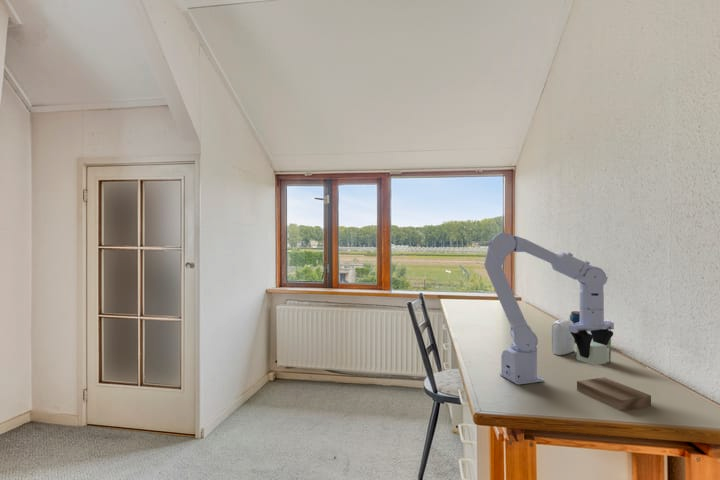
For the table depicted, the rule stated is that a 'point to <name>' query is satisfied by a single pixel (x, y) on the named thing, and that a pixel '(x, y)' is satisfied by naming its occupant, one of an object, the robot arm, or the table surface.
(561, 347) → the photo printer
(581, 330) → the robot arm
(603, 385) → the walnut block
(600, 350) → the sage cube
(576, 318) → the soda can
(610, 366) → the table surface
